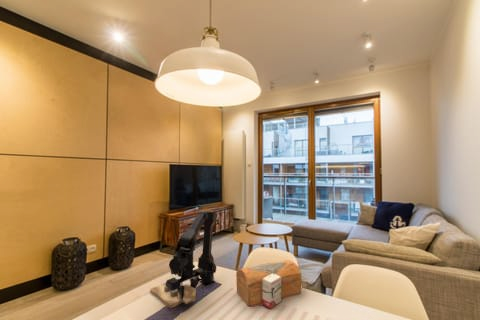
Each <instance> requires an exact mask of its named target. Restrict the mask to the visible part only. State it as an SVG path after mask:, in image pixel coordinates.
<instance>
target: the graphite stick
mask: <svg viewBox="0 0 480 320" xmlns="http://www.w3.org/2000/svg"><path fill="white" fill-rule="evenodd" d="M177 295H178V290H177V289H176V290H173V291H170V296H172V297H174V296H177Z"/></svg>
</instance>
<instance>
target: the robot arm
mask: <svg viewBox="0 0 480 320" xmlns="http://www.w3.org/2000/svg"><path fill="white" fill-rule="evenodd" d="M217 218H218V213H217V212H216V211H215V210H209V209H206V210H205V209H204V210H199V211H197V213H196V216H195V218H194V220H193V222H192V223H191V225H190V226H189V228H188V230H186V231H185V232H183V233H182V235H180V237H179V239H178V240H177V244H176V246H175V249H174V254H173V257H172V259H170V261H169V264H168V267H169V270H170V274H171V275H174V276H177V277H180V278H176V277H171V278H169V279H167V280H166V281H165V283H166V287H167V288H169V289H170V290H176V289H177V290H178V293H179V295H180V298H181V299H183V295H184V286H183V285H184V283H185V282H186V281H189V282H190V284H189V285H190V286H192V287H193V288H195V289H196V288H197V286H198V285H199V283H200V284H202V285H204V286H206V287H208V286H210V285H212V284H215V283H216V280H214V279H215V278H214V276H215V275H214V274H216V272H217V265H216V263H215V258H214V256H213V254H212V246H213V245H212V244H213V230H214V229H213V228H214V225H215V224H216V222H217ZM202 227H203V240H202V241H203V242H202V253H201V254H200V257H198V262H197V268H196V265H194V252H195V251H196V245H197V242H198V239H197V238H198V234H199V233H200V230H201V229H202ZM175 253H176V254H175Z"/></svg>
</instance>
